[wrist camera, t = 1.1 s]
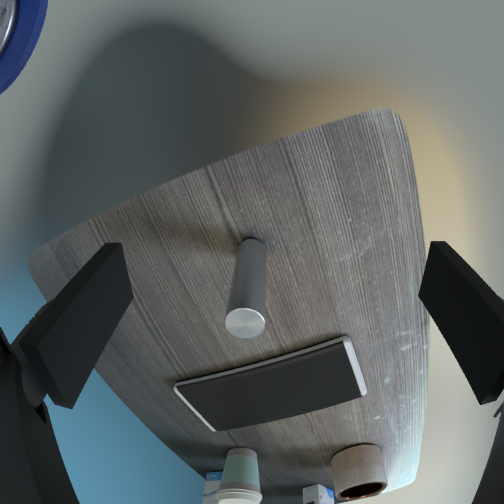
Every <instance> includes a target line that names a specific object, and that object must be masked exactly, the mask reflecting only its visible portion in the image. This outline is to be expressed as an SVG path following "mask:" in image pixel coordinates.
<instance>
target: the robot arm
mask: <svg viewBox="0 0 504 504" xmlns="http://www.w3.org/2000/svg"><path fill="white" fill-rule="evenodd" d="M19 10H20V0H0V59H1V58H2V56H3V55H4V53H5V51H6V50H7V48H8V46H9V44H10V42H11V39H12V37H13V34H14V32H15V29H16V25H17V22H18V17H19ZM418 296H419V298H420V299H421V301H422V302H423V304H424V306H425V307H426V309H427V310H428V312H429V314H430V315H431V317H432V318H433V320H434V322H435V323H436V325H437V327H438V328H439V330H440V332H441V333H442V335H443V337H444V338H445V340H446V342H447V344H448V345H449V347H450V349H451V351H452V352H453V354H454V356H455V358H456V359H457V362H458V363H459V365H460V367H461V369H462V371H463V373H464V374H465V376H466V378H467V380H468V382H469V384H470V386H471V388H472V390H473V392H474V394H475V396H476V398H477V400H478V402H479V404H480V405H483V404H486V403H490V402H493V401H496V400H497V398H498V397H499V395H500V394H501V392H502V391H503V389H504V300H503V299H502V298H500V297H499V296H497V295H496V293H495V292H494V291H493V290H492V289H491V288H490V287H489V286H488V285H487V284H486V283H485V281H484V280H483V279H482V278H481V277H480V276H479V275H478V274H477V273H476V272H475V271H474V270H473V269H472V268H471V267H470V265H469V264H467V262H466V261H465V260H464V259H463V258H462V257H461V256H460V255H459V254H458V253H457V252H456V251H455V250H454V249H453V248H452V247H451V246H450V245H448V244H447V243H446V242H445V241H431V244H430V248H429V253H428V258H427V262H426V267H425V271H424V275H423V279H422V283H421V287H420V291H419V294H418ZM133 297H134V296H133V292H132V288H131V284H130V280H129V276H128V271H127V267H126V262H125V258H124V253H123V248H122V244H121V243H105V244H104V245H103V246H102V247H101V248H100V250H99V251H98V252H97V253H96V254H95V255H94V256H93V257H92V258H91V259H90V260H89V261H88V262H87V263H86V264H85V265H84V266H83V267H82V268H81V270H80V271H79V272H78V273H77V274H76V275H75V276H74V277H73V278H72V279H71V280H70V282H69V283H68V284H67V285H66V286H65V287H64V288H63V289H62V291H61V292H60V293H59V294H58V295H57V296H56V297H55V299H52V300H51V301H49V302H48V303H46V304H45V305H44V306H42V307H41V308H40V310H39V311H38V312H37V313H36V314H35V317H33V318H32V319H31V320H30V321H29V324H27V325H26V326H25V327H24V329H23V330H22V331H21V332H20V334H19V335H18V336H17V337H16V339H15V340H14V341H13V342H12V343H11V345H10V344H9V342H8V340H7V338H6V336H5V334H4V332H3V330H2V328H1V327H0V504H80V503H79V501H78V499H77V496H76V494H75V492H74V489H73V487H72V484H71V481H70V479H69V476H68V473H67V471H66V468H65V465H64V462H63V459H62V457H61V454H60V451H59V447H58V445H57V441H56V438H55V434H54V431H53V428H52V424H51V421H50V417H49V413H48V409H47V406H46V405H45V402H44V401H43V399H44V398H45V396H46V394H48V395H49V397H50V398H51V400H52V401H53V403H54V404H55V405H59V406H62V407H66V408H70V409H73V407H74V405H75V403H76V400H77V398H78V397H79V395H80V393H81V391H82V389H83V387H84V385H85V383H86V381H87V379H88V377H89V375H90V374H91V372H92V370H93V368H94V366H95V364H96V362H97V361H98V359H99V357H100V355H101V353H102V351H103V350H104V348H105V346H106V344H107V342H108V341H109V339H110V337H111V335H112V333H113V332H114V330H115V328H116V326H117V325H118V323H119V321H120V320H121V318H122V316H123V314H124V313H125V311H126V309H127V308H128V306H129V304H130V302H131V301H132V299H133ZM500 412H501V416H500V418H499V419H500V420H499V424H498V428H497V432H496V436H495V439H494V443H493V446H492V449H491V453H490V456H489V459H488V462H487V465H486V468H485V471H484V474H483V476H482V479H481V482H480V484H479V487H478V490H477V492H476V495H475V497H474V500H473V502H472V504H504V401H503V403H502V404H501V406H500V407H499V409H498V410H497V411H496V413H495V414H494V416H493V417H497V415H498V414H499V413H500Z"/></svg>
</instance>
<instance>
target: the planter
mask: <svg viewBox="0 0 504 504" xmlns="http://www.w3.org/2000/svg"><path fill="white" fill-rule="evenodd" d="M331 464H332V472H333V480H334V488H335V497H336V498H337V499H341V500H355V499H361V498H365V497H369V496H372V495H374V494H377V493H379V492H381V491H382V490H384V489H385V488H386V487H387V485H388V484H387V478H386V473H385V468H384V463H383V457H382V453H381V449H380V448H379V447H378V446H376V445H371V444H360V445H355V446H351V447H348V448H346V449H343V450H341V451H340V452H338V453H337V454H336V455H334V457H333V458H332V460H331Z"/></svg>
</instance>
